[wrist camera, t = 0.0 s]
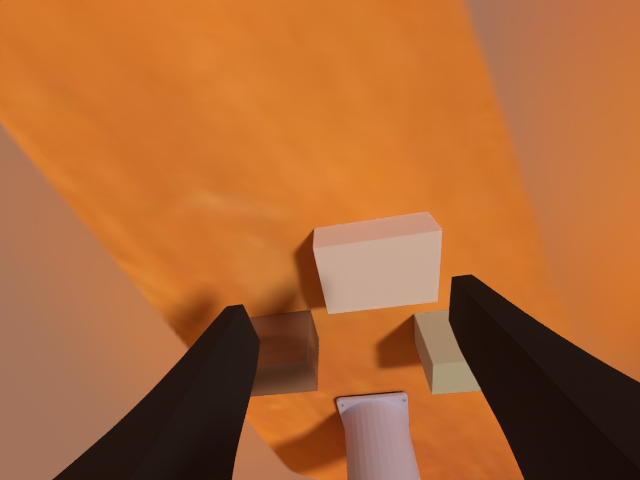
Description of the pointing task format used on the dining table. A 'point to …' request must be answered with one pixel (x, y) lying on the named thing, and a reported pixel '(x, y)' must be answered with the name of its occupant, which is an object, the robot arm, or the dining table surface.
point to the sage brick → (441, 354)
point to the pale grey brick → (379, 262)
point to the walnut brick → (286, 354)
